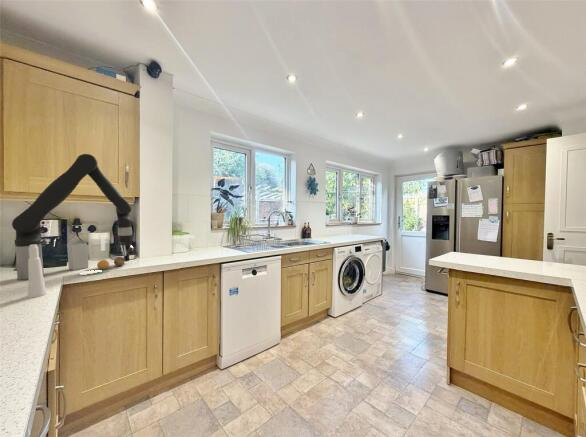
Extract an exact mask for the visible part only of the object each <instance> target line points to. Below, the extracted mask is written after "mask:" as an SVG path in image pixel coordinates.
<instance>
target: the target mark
mask: <svg viewBox="0 0 586 437" xmlns="http://www.w3.org/2000/svg"><path fill="white" fill-rule="evenodd" d="M89 270H90V271H91V270H94V271H95V270H101V269H99V268H98V267H96V268H91V269H86V270H84V271H89ZM109 271H111V268H109V267H108V268H107V269H104V270H102V272H97V273H93V274H87V275H82V276H85V277H86V276H87V277H88V276H95V275H101V274H104V273H105V274H106V273H108V272H109Z"/></svg>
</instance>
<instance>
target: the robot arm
mask: <svg viewBox="0 0 586 437" xmlns="http://www.w3.org/2000/svg"><path fill="white" fill-rule="evenodd" d="M98 163H99V162H98V159H97V158H96V157H95V156H94V155H92V154H89V153H82V154H80V155H78V157H77V158H76V159H75V160H74V162H72V165H70V167H69V168H68V169H67V170H66V171H64V172H63V173H62V174H61V175H59V176H58V177H57V178H55V179H54V180H53V181H52V182H51V183H50V184H49V185H47V187H45V189H44V190H43V191H42V192H41V193H40V194H39V195H38V197H37V198H36V199H35V200H34V202H32V204H31V205H30V206H29V207H27V208H26V209H25V210H24V211H23V212H21V213H20V214H18V215H17V216H16V217H15V218H14V219H12V222H11V227H12V228H13V230H14V231H15V240H14V244H15V255H16V262H15V266H16V275H17V276H16V277H17V281H25V280H29V275H28V259H30V257H29V247H30V246H29V245H35V244H36V245H37V247H38V253H39V258H40V259H41V265H42V272H43V276H44V274H45V273H44V262H43V251H42V250H43V248H42V227H41V226H42V225H41V222H42V220H44V219H45V217H46V216H47V215H48V214H49V213H50V212H51V211H53V210H55V209H56V208H57V207H58V206H59V205H60V204H61V203H62V202H64V201H65V200H66V199H67V198H68V197H69V196H70V195H71V194H72V193H73V191H74V190H75V189H76V188H77V186H78V185H79V184H80V182H81V181H82V180H83V179H84V178H85V177H86V176H89V177H90V178H91V180H92V181H93V182H94V183H95V184H96V185H97V187H98V189H99V190H100V191H101V192H102V194H103V195H104V196H105V197H106V198H107V200H108V201H110V202H111V203H112V204H113V205H114V206H115V210H116V211H115V212H116V217H117V235H118V236H117V240H118V243H119V245H118V246H117V247H116V248H117V249H118V252H119V253H120V255H123V258H124V260H125V262H129V261H130V255H133V253H134V250H135V249H136V248H135V246H133V243H132V242H133V240H134V239H133V228H132V219H131V218H130V213H131V211H132V209H133V208H132V206H131V204H130V203H129V202H128V201H127V200H126V198H124V197H123V196H122V194H121V193H120V191H119V189H117V188H116V186H114V184H113V183H112V182H111V181H110V180H109V179H108V178H107V177H106V176H105V174H104V173H103V172H102V170H101V169H100V167H99V165H98Z"/></svg>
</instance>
